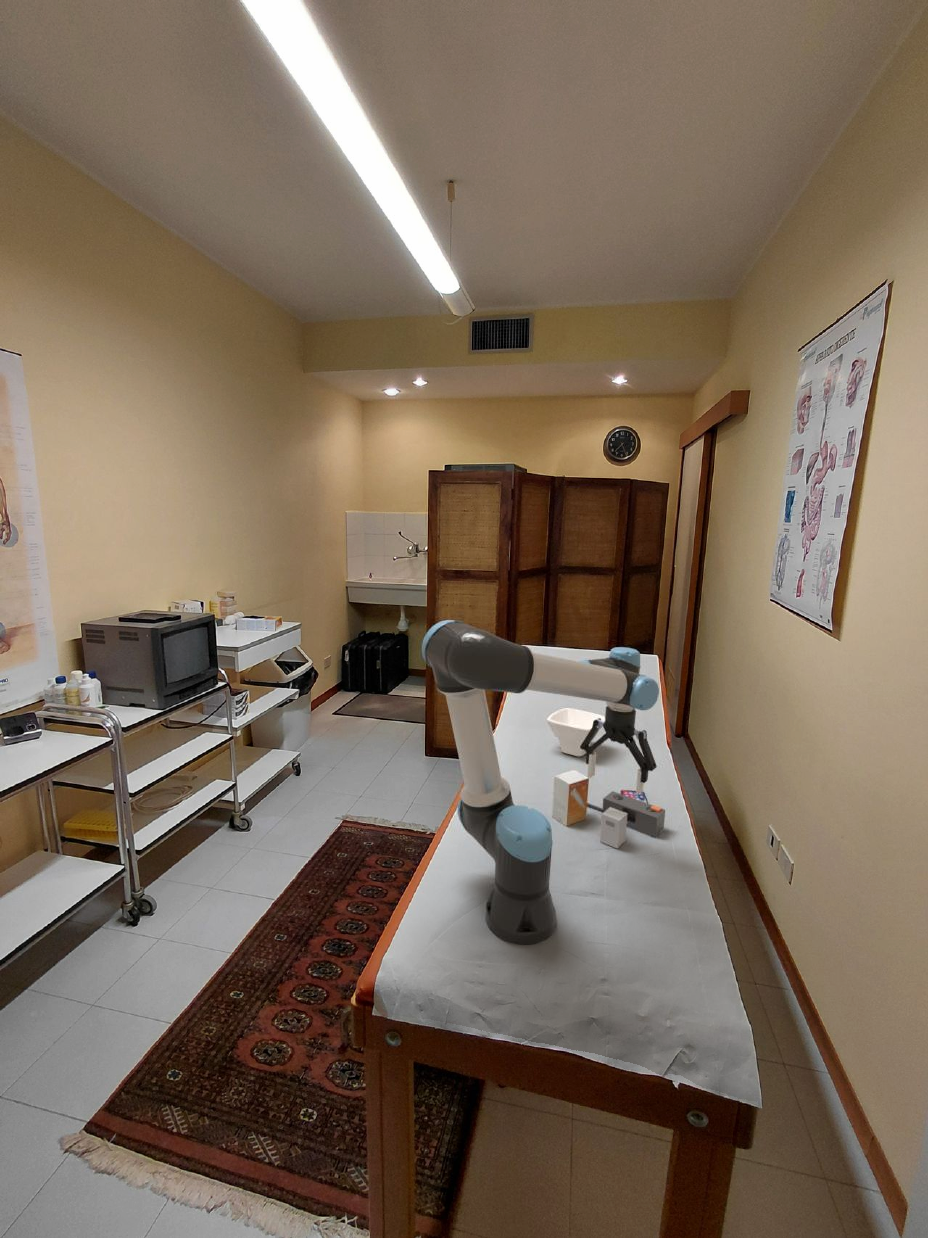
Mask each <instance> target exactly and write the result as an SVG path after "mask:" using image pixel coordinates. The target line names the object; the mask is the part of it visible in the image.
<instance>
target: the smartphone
mask: <svg viewBox="0 0 928 1238" xmlns="http://www.w3.org/2000/svg"><path fill="white" fill-rule="evenodd" d="M620 794H622V795H625V796H628V797H630V798H633V799H636V800H639V801H642V802H645V803H648V804H649V802H648V798H647V796H646V793H645V792H644V791H643V792H642V793H641V794H639V795H637V794H636V790H629V789H627V790H626V789H621V790H620Z"/></svg>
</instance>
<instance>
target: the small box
mask: <svg viewBox="0 0 928 1238" xmlns="http://www.w3.org/2000/svg"><path fill="white" fill-rule="evenodd" d="M553 780H554V781H553V792H552V809H551V810H552V814H551V817H552V818H553V819H554V820H557V822H558V823H561V824H563V825H564V826H566V827H568V826H571V825H572V824H573V825H574V824H577V822H581V821H583V820H586V819H587V809H588V807H587V803H588V797H589V782H590V778H588V776H586V775H584V774H582V773H581V772H579V771H577V770H575V769H572V770H569V771H567V772H562V773H560V774H557V775H554V779H553Z"/></svg>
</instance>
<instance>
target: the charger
mask: <svg viewBox="0 0 928 1238" xmlns="http://www.w3.org/2000/svg"><path fill="white" fill-rule="evenodd" d="M626 826H627V813H625V812H622V811H619V810H617V809H614V808H611V807H610V808H608V809H607V810H606V811H605V812H604V813H603V814H602V813H601V823H600V834H599V835H600V836H599V841H600V842H601V843H603V844H606V845H608V846H611V847H613V848H615V849H619V848H620V847H621V845H623V843H624V842H626V838H627V827H626Z"/></svg>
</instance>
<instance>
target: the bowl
mask: <svg viewBox="0 0 928 1238" xmlns="http://www.w3.org/2000/svg"><path fill="white" fill-rule="evenodd" d="M598 718H600V719H601V721H604V722H605V715H602V714H598V713H595V712H591V711H586V710H581V709H576V708H572V707H570V708H569V707H565V708H561V709H558V710H556V711H554V712H553V713H551V714H550V715H548V717H547V718H546V722H547V724H548V725H549V727H550V729H551V731H552V733H553V735H554V737H556V738H558V742H559V746H560V750H561V752H562V753H565V754H567V755H572V756H574V757H582V756H584V755H585V754H586V751H585V750H582V749H581V748H580V746H581V744H582V743H583V741H584V739H585V738H586V736H587V735H588V733H589V732H590V730H591V728H592V726H593V721H594V720H596V719H598ZM602 728H603V726H602V727H601V728H599V730H598V732H597V733H596V735H595V736H594V738H593V739H592V741H593V740H594V739H595V738H596V737H597V735H598V734H599V732H600V730H601V729H602ZM592 741H591V742H590V744H589V746H591V745H592V744H591V743H592Z"/></svg>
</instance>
